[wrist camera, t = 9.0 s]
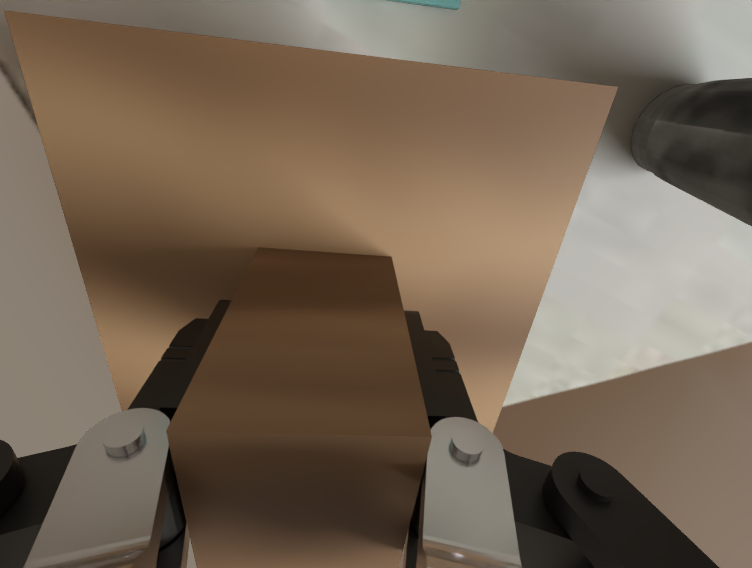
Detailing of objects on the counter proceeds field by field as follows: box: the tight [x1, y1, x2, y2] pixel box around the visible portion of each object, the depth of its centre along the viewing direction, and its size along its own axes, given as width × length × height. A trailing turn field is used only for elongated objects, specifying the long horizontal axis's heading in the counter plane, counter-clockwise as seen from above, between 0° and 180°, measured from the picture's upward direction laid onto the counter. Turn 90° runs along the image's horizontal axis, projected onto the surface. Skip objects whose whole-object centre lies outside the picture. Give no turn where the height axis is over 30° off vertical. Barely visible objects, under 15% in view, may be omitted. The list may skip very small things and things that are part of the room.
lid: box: [4, 11, 618, 568], centre depth 9 cm, size 13×13×7 cm
